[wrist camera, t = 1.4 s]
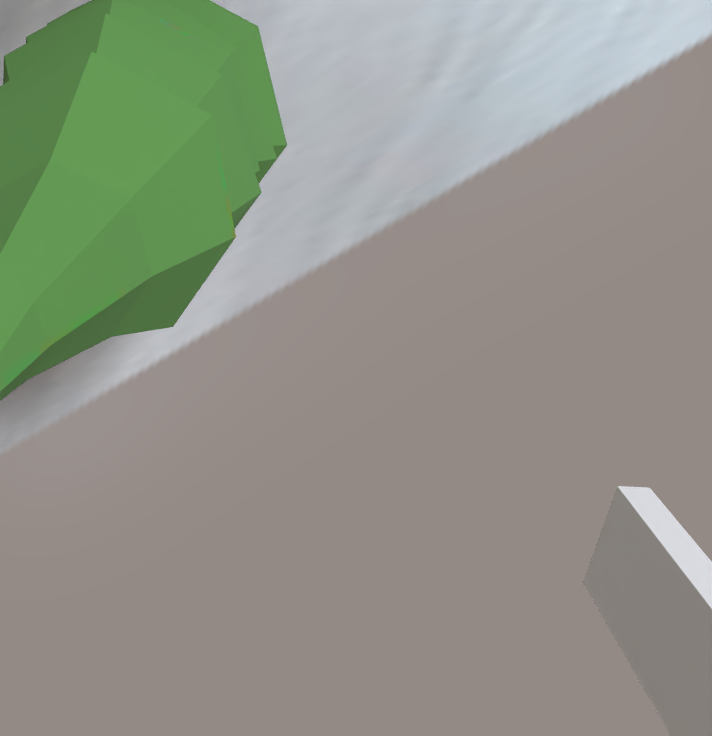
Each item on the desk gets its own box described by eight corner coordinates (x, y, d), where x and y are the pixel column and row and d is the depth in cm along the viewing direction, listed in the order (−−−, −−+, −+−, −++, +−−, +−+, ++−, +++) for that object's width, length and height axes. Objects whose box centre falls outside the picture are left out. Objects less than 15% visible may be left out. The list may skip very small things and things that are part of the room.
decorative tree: (203, 232, 36) (15, 785, 9) (38, 114, 33) (-1009, 443, 6) (315, 77, 33) (507, 224, 7) (148, -67, 30) (-829, -957, 3)
